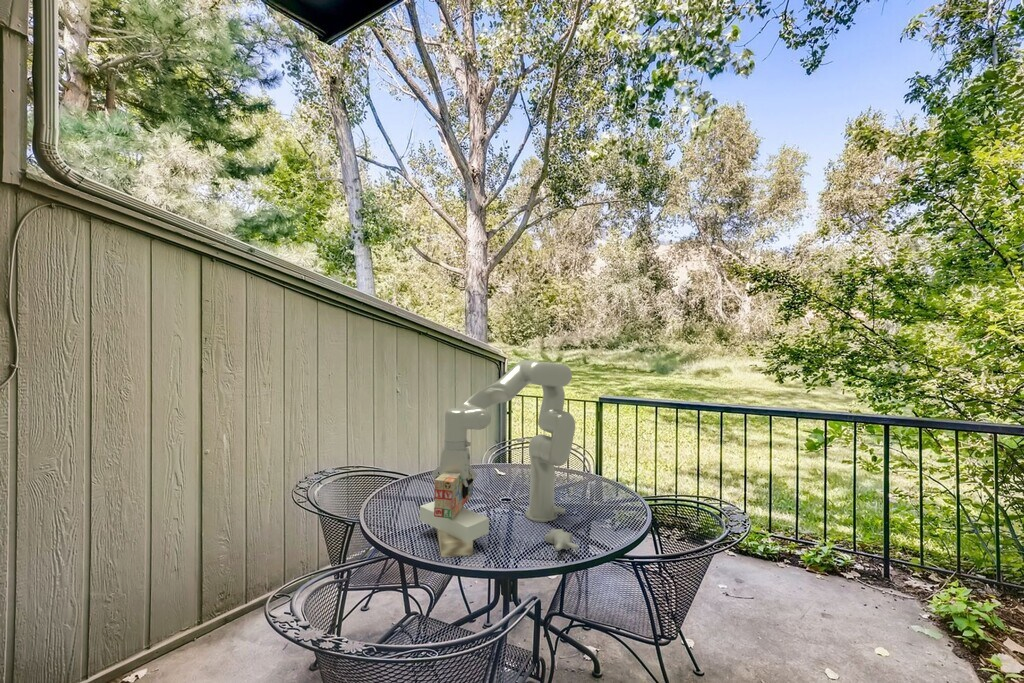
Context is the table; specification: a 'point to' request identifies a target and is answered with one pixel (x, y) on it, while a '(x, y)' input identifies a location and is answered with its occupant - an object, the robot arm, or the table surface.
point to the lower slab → (453, 545)
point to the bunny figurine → (560, 539)
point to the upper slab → (457, 523)
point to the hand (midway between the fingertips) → (454, 496)
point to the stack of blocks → (450, 494)
